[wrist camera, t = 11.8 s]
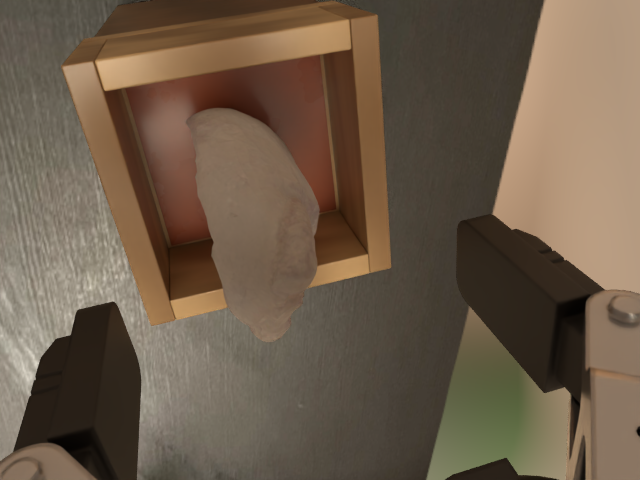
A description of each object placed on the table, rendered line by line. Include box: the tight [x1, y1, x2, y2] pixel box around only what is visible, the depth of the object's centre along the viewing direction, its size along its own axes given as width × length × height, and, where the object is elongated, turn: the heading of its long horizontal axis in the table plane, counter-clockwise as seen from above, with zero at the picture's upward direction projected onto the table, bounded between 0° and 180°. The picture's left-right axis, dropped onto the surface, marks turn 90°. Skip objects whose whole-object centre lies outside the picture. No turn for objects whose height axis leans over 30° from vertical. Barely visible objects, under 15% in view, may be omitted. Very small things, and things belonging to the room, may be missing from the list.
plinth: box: [95, 0, 320, 37], centre depth 28 cm, size 9×9×14 cm
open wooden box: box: [61, 1, 391, 326], centre depth 20 cm, size 9×9×5 cm
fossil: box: [186, 108, 320, 342], centre depth 17 cm, size 6×4×10 cm, turn 12°
